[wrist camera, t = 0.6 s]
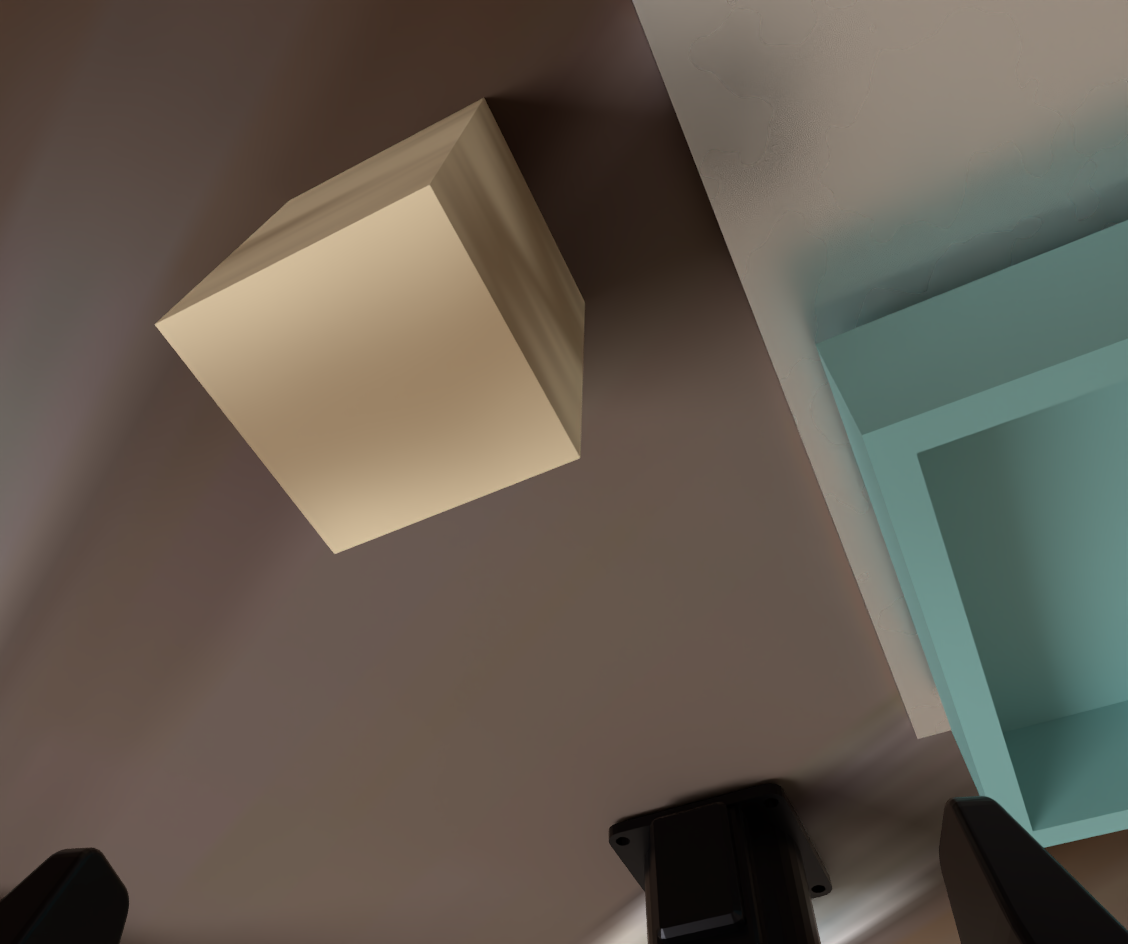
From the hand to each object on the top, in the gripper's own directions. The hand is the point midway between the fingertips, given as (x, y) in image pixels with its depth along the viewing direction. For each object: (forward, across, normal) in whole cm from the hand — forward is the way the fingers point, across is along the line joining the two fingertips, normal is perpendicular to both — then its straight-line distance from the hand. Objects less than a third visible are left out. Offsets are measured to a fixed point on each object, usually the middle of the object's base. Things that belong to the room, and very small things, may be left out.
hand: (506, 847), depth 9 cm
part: (+14, +2, -2) cm, 14 cm away
